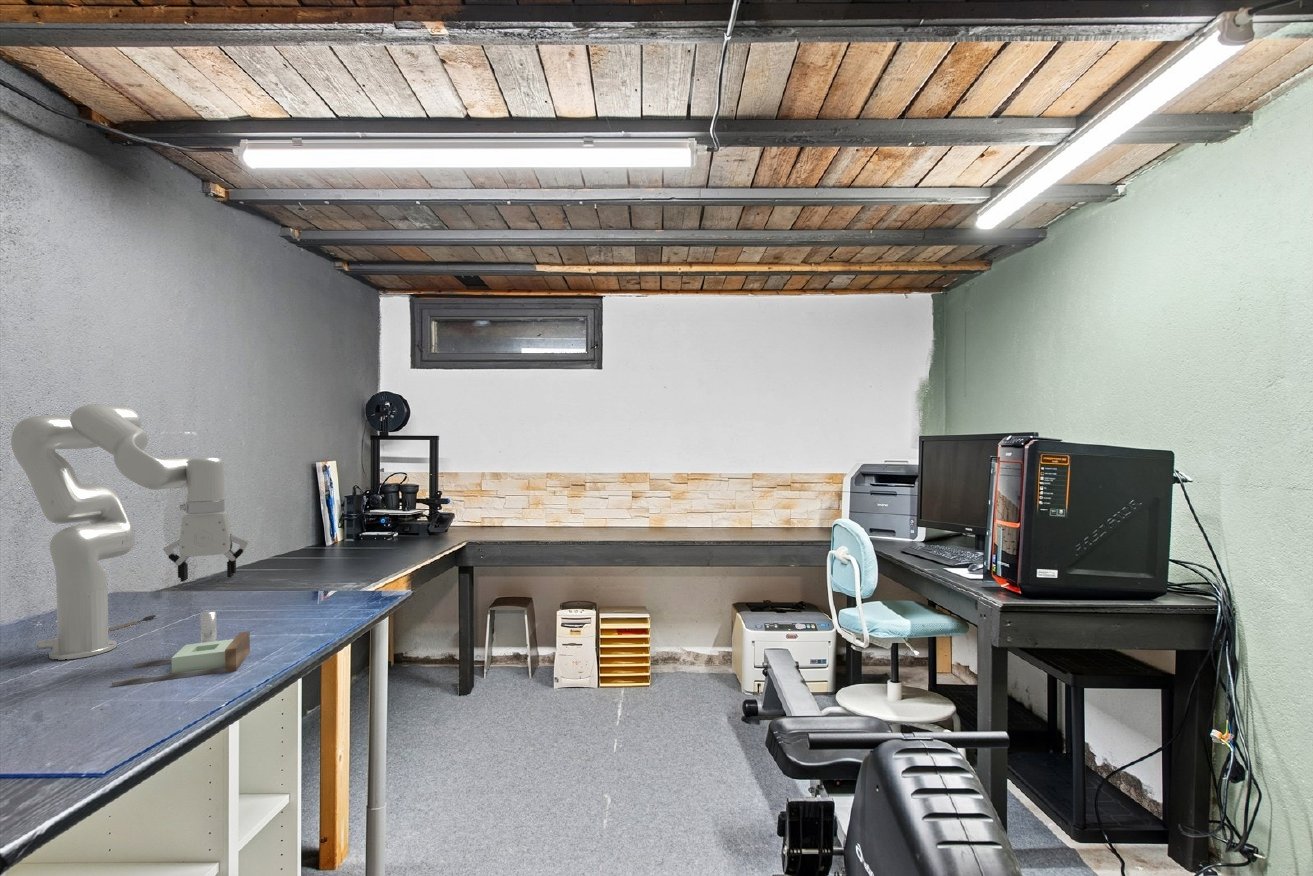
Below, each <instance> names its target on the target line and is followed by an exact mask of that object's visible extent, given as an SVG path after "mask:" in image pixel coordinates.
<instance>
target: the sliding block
mask: <svg viewBox="0 0 1313 876" xmlns="http://www.w3.org/2000/svg"><path fill="white" fill-rule="evenodd" d="M234 639H235V638H233V639H232V638H231V639H225V640H224V639H223V640H217V641H213V642H205V643H201V642H198V643H190V644H189V643H188V644H185V645H183V646H182V647H181V649H179V650H178V651H177V652H176V653H175V654H174V655H173V656H172V657H171V658H172V663H171V674H172V673H179V672H187V671H195V670H203V669H210V668H218V667H225V649H226V648H227V647H228V646H229V644H230V643H231V642H232V641H233V640H234Z"/></svg>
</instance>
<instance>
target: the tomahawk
mask: <svg viewBox="0 0 1313 876" xmlns="http://www.w3.org/2000/svg"><path fill="white" fill-rule="evenodd" d="M156 617H157V614H156V615H155V614H153V615H149V616H146V617H143V618H142V619H141V620H138V621H131V622H128V623H125V624H121V625H118V626H114V627H110V628H108V633H109V631H110V632H113V631H112V630H114V631H116V630H115V629H117V630H120V629H119V628H121V629H123V628H122V627H124V628H127V627H131V626H134V625H133V624H135V623H139V624H141V622H142V621H146V622H147V620H148V621H149V620H151V619H154V618H156ZM142 623H143V622H142ZM130 625H131V626H130ZM135 625H136V624H135Z"/></svg>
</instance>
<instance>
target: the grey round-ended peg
mask: <svg viewBox="0 0 1313 876" xmlns="http://www.w3.org/2000/svg"><path fill="white" fill-rule="evenodd" d="M199 617H200V618H199V620H200V643H205V642H213V641H218V632H217V628H218V627H217V625H218V623H217V621H218V620H217V611H216V610H208V611H203V612H201V613H200V615H199Z"/></svg>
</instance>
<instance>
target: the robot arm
mask: <svg viewBox="0 0 1313 876" xmlns="http://www.w3.org/2000/svg"><path fill="white" fill-rule="evenodd" d="M141 427H142V419H141V417H140V415H139V413H137V411H135V410H134V409H132V408H131V407H128V406H124V405H118V404H117V405H116V404H114V405H112V404H101V403H100V404H97V403H96V404H86V405H85V404H84V405H82V406H79V407H77V408H76V409H75V410H74V411H73V412H72V413H71V415H57V414H55V415H54V414H44V415H43V414H41V415H33V416H28V417H26V418H24V419H22V420H21V421H19V422H18V423H17V424H16V425H15V426H14V428H13V430H12V433H11V439H10V445H11V450H12V453H13V455H14V458H15V459H16V461H17V462H18V464H19V466H20V467H21V468H22V470H23V471H24V473H25V475H26V476H27V478H28V480H29V482H30V485H31V486H30V487H32V490H33V492H34V495H35V498H36V499H37V502H38V504H39V506H40V509H41V510H42V511H41V512H42V514H43V515H44V517H45V518H46V519H47V521H49V522H51V523H52V524H59V525H60V524H61V525H62V524H72V523H73V524H75V523H83V522H88V521H89V522H90V523H86V524H85V523H83V524H78V525H77V524H76V525H72V526H69V527H65V528H63V529H61V530H59V531H57V532H56V533H55V534H54V535H53V536H52V538H51V539H50V543H49V551H50V556H51V560H52V562H53V566H54V572H55V584H56V585H55V588H56V617H57V619H56V620H57V621H56V623H57V626H56V627H57V629H56V630H57V636H56V637H53V638H51V639H49V638H48V639H40V640H37V643H36V648H37V649H38V650H46V649H51V650H52V651H50V652H49V653H48V657H49V659H50V660H54V659H58V660H57V661H62V660H63V661H65V659H67V660H75V659H76V660H77V659H81V658H87V657H91V656H97V655H101V654H104V653H106V652H110V651H112V650H114V649H115V648H116V647H117V646H118V644H117V641H116V640H114V639H110V638H109V637H110V636H109V632H108V629H109V600H108V599H109V598H108V597H109V596H108V594H109V593H108V591H109V590H108V587H109V586H108V577H107V573H106V572H105V570H104V568H103V567H102V565H100V563H99V561H101V560H108V559H112V558H113V559H114V558H117V557H122V556H124V555H126V554H128V553H129V552H130V551H132V549H133V548H134V545H135V543H136V535H135V530H134V527H133V525H132V523H131V520H130V517H129V516H128V513H127V512H126V509H125V506H124V503H123V501H122V499H121V498H120V495H119V494H118V493H117V491H115V490H114V489H113V487H111V486H109V485H106V484H103V483H82V482H81V481H80V480H79V479H78V476H77V474H76V472H75V469H74V467H73V466H72V464H70V462H69V461H67V460H66V459H65V458H64V457H63V456H62V455H60V454H59V453H58V452H57V451H56V450H78V449H79V450H85V449H94V448H97V447H99V448H100V449H103V450H104V451H106V453H109V454H111V455H112V456H113V462H114V464H115V467H116V469H117V471H118V472H119V473H120V474H121V475H123V477H125V478H126V479H129V481H132V482H133V483H134V484H136V485H138V486H140V487H142V488H145V489H147V490H148V489H149V490H167V489H182V488H186V502H185V503H184V504H180V505H179V511H185V512H186V513H187V514H183V516H182V519H181V524H180V532H179V533H180V534H179V539H178V540H176V541H174V542H172V543H170V544H169V545H166V546H164V547H163V551H164V553H165V554H166V555H167V556H168V559H169V560H171V561H172V562H173V563H174V564H175V565H177V577H178V579H180V582H182V583H183V582H186V581H187V580H188V579H189V569H188V568H189V567H188V565H189V564H188V563H187V560H188V559H189V558H190V557H192V558H193V557H206V556H217V555H224V556H225V557H226V558H227V559H228V561H227V562H226V566H227V567H226V572H227V575H226V576H227V578H228V579H229V578H232V577H234V574H236V573H237V559H238V558H239V557H240V556H241V555H242V554H243V553H244V552H245V550H246V548H247V547H248V545H249V543H250V542H249V541H248V540H246V539H244V538H241V537H238V536H235V535H233V533H232V525H231V520H230V516H229V513H228V512H227V511H225V508H226V507H225V506H226V505H225V502H226V501H225V466H224V461H223V459H222V458H220V457H215V456H214V457H210V456H209V457H187V456H185V457H184V456H179V457H177V456H176V457H175V456H173V457H172V456H171V457H170V456H168V457H156V456H153V455H150V453H149V454H148V452H145V451H144V450H145V448H146V447H148V442H149V436H148V433H147V432H146V431H145V430H144V429H143V428H141ZM233 543H235V544H237V545H238V546H239V548H238V549H237V550H236V551H233ZM178 547H179V549H178V550H179V555H178V554H177V553H175V551H174V549H176V548H178Z"/></svg>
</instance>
